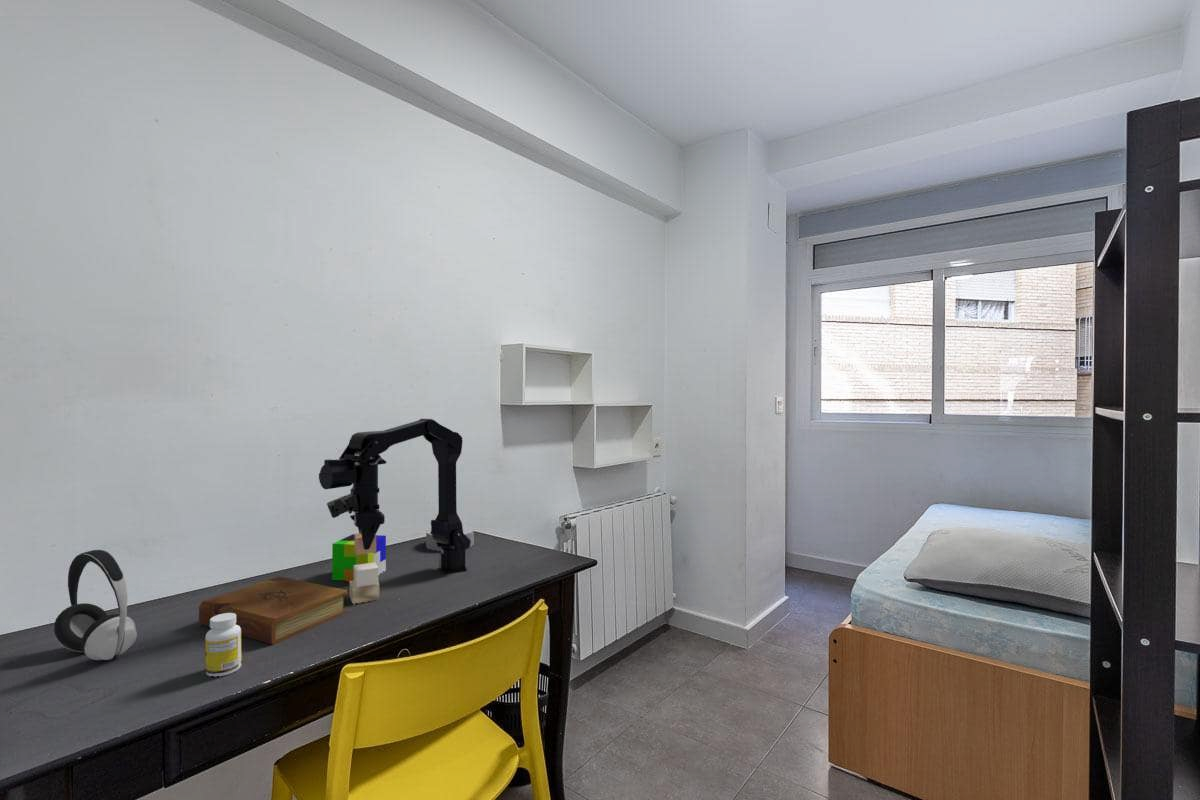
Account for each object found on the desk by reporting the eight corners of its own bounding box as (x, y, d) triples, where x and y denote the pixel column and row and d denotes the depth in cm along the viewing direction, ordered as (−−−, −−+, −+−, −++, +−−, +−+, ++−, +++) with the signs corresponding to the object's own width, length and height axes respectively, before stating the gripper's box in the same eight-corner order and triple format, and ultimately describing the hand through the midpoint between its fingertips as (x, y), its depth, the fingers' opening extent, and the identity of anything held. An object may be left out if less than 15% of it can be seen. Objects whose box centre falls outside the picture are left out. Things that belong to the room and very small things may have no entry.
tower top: (375, 578, 141) (375, 562, 141) (378, 583, 137) (378, 567, 137) (353, 581, 139) (353, 565, 139) (356, 587, 134) (356, 570, 134)
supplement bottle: (216, 663, 104) (216, 611, 104) (247, 662, 105) (247, 610, 104) (198, 678, 99) (198, 623, 99) (230, 677, 99) (230, 622, 99)
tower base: (375, 592, 142) (375, 577, 142) (379, 600, 137) (379, 584, 137) (349, 597, 139) (349, 581, 139) (352, 605, 134) (352, 588, 134)
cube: (373, 547, 140) (373, 531, 140) (376, 552, 137) (376, 535, 137) (354, 550, 138) (354, 534, 138) (356, 554, 134) (356, 538, 134)
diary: (199, 628, 121) (198, 602, 121) (278, 599, 138) (278, 576, 138) (271, 648, 112) (271, 619, 112) (347, 614, 129) (347, 589, 129)
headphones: (149, 655, 107) (149, 551, 107) (94, 675, 99) (94, 563, 99) (96, 636, 115) (96, 539, 115) (42, 653, 107) (42, 550, 107)
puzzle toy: (385, 570, 159) (385, 535, 159) (367, 582, 149) (367, 545, 149) (352, 569, 160) (352, 534, 160) (332, 580, 150) (332, 543, 150)
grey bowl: (453, 537, 197) (453, 522, 197) (483, 544, 188) (483, 529, 188) (416, 546, 184) (416, 531, 184) (446, 554, 175) (446, 538, 175)
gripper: (326, 480, 141) (326, 542, 142) (332, 492, 125) (332, 561, 125) (373, 477, 147) (373, 536, 147) (385, 488, 131) (384, 555, 131)
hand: (365, 546), depth 137 cm, fingers closed on cube, 4 cm apart
